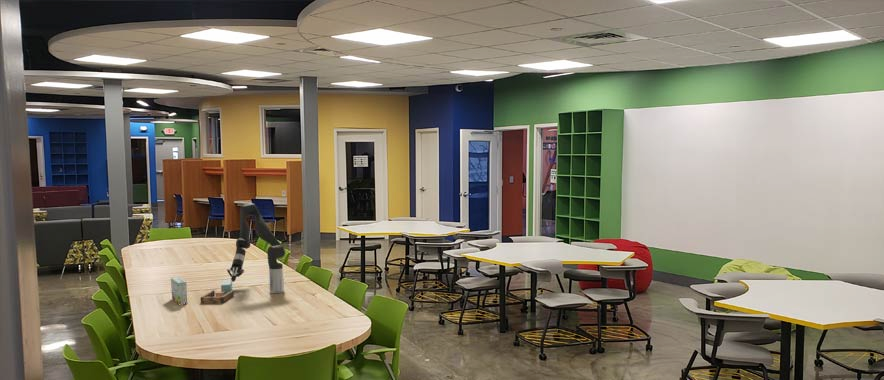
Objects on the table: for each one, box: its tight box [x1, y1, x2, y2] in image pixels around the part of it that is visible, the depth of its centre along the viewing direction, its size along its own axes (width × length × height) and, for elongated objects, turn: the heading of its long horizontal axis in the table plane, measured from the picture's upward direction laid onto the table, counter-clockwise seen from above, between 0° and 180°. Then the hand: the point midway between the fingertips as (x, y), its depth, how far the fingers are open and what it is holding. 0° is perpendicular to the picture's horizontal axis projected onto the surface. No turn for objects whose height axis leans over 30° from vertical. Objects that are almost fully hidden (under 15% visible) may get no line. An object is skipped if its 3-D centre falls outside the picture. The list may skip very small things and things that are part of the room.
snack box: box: [170, 276, 188, 305], centre depth 407 cm, size 21×6×15 cm, turn 37°
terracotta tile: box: [215, 290, 226, 297], centre depth 418 cm, size 5×5×4 cm
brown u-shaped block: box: [200, 289, 235, 304], centre depth 412 cm, size 15×20×4 cm
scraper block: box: [220, 280, 233, 294], centre depth 429 cm, size 6×14×8 cm, turn 15°
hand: (232, 281), depth 441 cm, fingers closed
